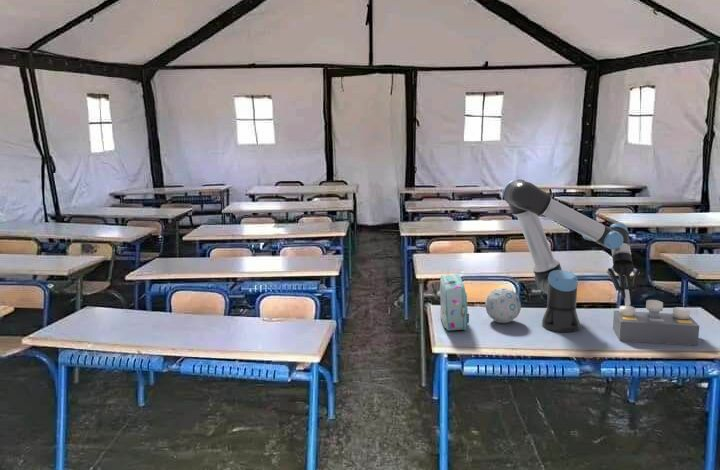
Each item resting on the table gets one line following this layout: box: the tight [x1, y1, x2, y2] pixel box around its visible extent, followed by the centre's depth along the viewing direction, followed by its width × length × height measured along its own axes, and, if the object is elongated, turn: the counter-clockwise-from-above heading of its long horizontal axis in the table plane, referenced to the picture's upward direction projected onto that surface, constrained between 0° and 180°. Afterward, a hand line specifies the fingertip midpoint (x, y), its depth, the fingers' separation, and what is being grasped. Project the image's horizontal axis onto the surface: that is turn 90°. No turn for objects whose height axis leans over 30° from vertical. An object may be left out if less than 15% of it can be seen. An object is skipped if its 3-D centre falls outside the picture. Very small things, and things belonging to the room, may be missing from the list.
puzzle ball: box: [484, 287, 522, 324], centre depth 251 cm, size 15×15×15 cm
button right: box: [671, 306, 691, 320], centre depth 229 cm, size 6×6×8 cm
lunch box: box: [439, 273, 470, 332], centre depth 248 cm, size 27×10×21 cm, turn 179°
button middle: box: [645, 299, 664, 318], centre depth 231 cm, size 6×6×8 cm
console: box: [612, 310, 700, 346], centre depth 230 cm, size 28×14×8 cm, turn 77°
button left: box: [618, 305, 636, 317], centre depth 234 cm, size 6×6×8 cm
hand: (627, 305), depth 233 cm, fingers closed
